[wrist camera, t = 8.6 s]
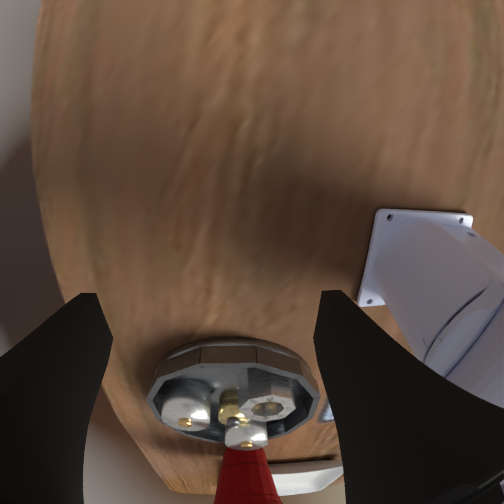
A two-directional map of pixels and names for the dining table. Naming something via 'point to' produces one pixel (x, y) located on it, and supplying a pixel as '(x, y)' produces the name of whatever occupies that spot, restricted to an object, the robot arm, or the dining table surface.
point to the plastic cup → (245, 479)
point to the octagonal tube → (264, 395)
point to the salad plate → (304, 476)
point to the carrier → (226, 390)
